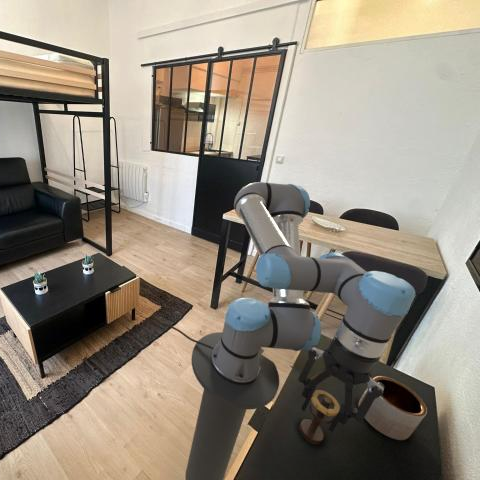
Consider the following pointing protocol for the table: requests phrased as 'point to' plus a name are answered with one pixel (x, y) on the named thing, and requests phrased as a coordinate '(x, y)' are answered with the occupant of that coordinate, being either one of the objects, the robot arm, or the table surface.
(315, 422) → the brown wooden peg stand
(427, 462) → the table surface
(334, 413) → the brass ring
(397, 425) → the planter
